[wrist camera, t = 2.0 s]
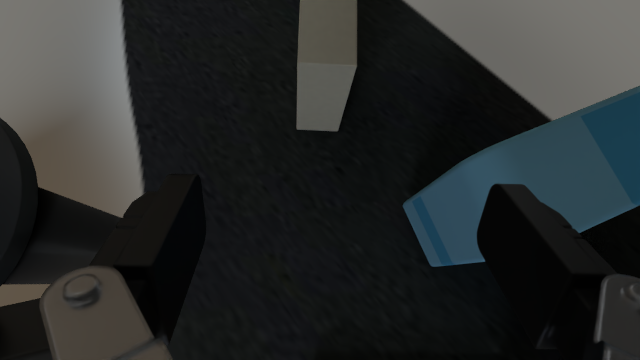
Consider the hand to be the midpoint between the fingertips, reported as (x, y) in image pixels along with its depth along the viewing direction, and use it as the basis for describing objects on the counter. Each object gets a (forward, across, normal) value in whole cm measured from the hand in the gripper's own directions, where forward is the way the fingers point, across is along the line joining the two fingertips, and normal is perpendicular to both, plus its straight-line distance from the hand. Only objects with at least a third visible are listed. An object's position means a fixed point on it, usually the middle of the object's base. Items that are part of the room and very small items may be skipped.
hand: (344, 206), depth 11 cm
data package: (+14, -12, +9) cm, 20 cm away
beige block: (+19, 0, +3) cm, 20 cm away
